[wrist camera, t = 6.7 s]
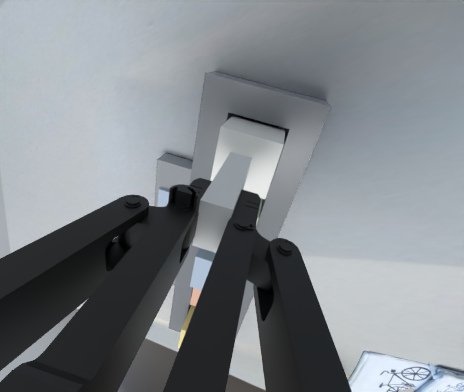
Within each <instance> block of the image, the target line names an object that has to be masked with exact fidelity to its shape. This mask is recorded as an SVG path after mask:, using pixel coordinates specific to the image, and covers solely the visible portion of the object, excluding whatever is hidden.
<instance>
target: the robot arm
mask: <svg viewBox="0 0 464 392" xmlns="http://www.w3.org/2000/svg"><path fill="white" fill-rule="evenodd" d="M251 161H252V158H251V157H247V156H244V155H240V154H237V153H233V152H230V154H229V155H228V157H227V159H226V160H225V162H224V163H223V165H222V167H221V168H220V170H219V171H218V173H217V174H216V176H215V178H214V179H213V181H209V180H206V179H203V178H198V179H195V180H193V181H192V183H191V184H190V186H189V185H184V184H178V185H174V186H172V187H170V190H169V201H168V204H167V205H166V206H165V207H155V206H149V202H148V200H147V199H146V198H144V197H142V196H139V195H127V196H124V197H121V198H119V199H117V200H115V201H113V202H111V203H109V204H107V205H105V206H103V207H101V208H99V209H97V210H95V211H93V212H91V213H89V214H87V215H85V216H83V217H82V218H80V219H78V220H76V221H74V222H72V223H70V224H68V225H66V226H64V227H62V228H60V229H58V230H56V231H54V232H52V233H50V234H48V235H46V236H44V237H42V238H40V239H38V240H36V241H34V242H32V243H30V244H28V245H26V246H24V247H22V248H20V249H18V250H16V251H15V252H13V253H11V254H9V255H7V256H5V257H3V258H1V259H0V371H1V370H2V369H3V368H4V367H6V366H7V365H8V364H9V363H10V362H12V361H13V360H14V359H15V358H16V357H17V356H19V355H20V354H21V353H23V352H24V351H25V350H26V349H27V348H28V347H30V346H31V345H32V344H33V343H35V342H36V341H37V340H38V339H39V338H41V337H42V336H43V335H44V334H45V333H47V332H48V331H49V330H51V329H52V328H53V327H54V326H55V325H56V324H58V323H59V322H60V321H61V320H62V319H64V318H65V317H66V316H67V315H69V314H70V313H71V312H72V311H74V310H75V309H76V308H77V307H78V306H80V305H81V304H82V303H83V302H85V301H86V300H87V299H88V298H89V299H88V300H87V301H86V302H85V303H84V304H83V306H82V307H81V308H80V309H79V310H78V312H77V313H76V314H75V315H74V316H73V318H72V319H71V320H70V321H69V323H68V324H67V325H66V326H65V327H64V328H63V330H62V331H61V332H60V333H59V334H58V336H57V337H56V338H55V339H54V341H53V342H52V343H51V344H50V345H49V346H48V348H47V349H46V350H45V351H44V352H43V353H42V354H41V355H40V356H39V357H38V358H36V359H35V360H33V361H30V362H26V363H22V364H21V365H19V366H18V367H17V368H15V369H14V370H12V371H11V372H10V373H9V374H8V375H7V376H6V377H5V378H4V379H3V380H2V381H1V382H0V392H117V391H118V389H119V387H120V385H121V383H122V381H123V379H124V377H125V376H126V374H127V372H128V370H129V368H130V366H131V364H132V361H133V360H134V358H135V356H136V354H137V352H138V350H139V348H140V346H141V344H142V342H143V341H144V339H145V337H146V335H147V333H148V331H149V329H150V327H151V325H152V323H153V321H154V319H155V317H156V315H157V313H158V311H159V309H160V308H161V306H162V304H163V302H164V300H165V298H166V296H167V294H168V292H169V290H170V288H171V286H172V284H173V282H174V280H175V278H176V276H177V274H178V273H179V271H180V269H181V267H182V265H183V263H184V261H185V259H186V257H187V255H188V253H189V249H190V244H191V242H192V240H193V244H192V246H196V247H199V248H202V249H205V250H208V251H212V252H215V253H216V254H215V257H214V259H213V262H212V265H211V267H210V270H209V273H208V275H207V278H206V280H205V283H204V286H203V288H202V291H201V294H200V296H199V299H198V301H197V304H196V307H195V309H194V312H193V315H192V317H191V320H190V322H189V325H188V328H187V330H186V333H185V336H184V338H183V341H182V343H181V346H180V349H179V351H178V354H177V357H176V359H175V362H174V365H173V367H172V370H171V372H170V375H169V378H168V380H167V383H166V386H165V388H164V391H163V392H225V389H226V384H227V379H228V374H229V369H230V363H231V358H232V353H233V348H234V343H235V338H236V332H237V327H238V322H239V317H240V312H241V307H242V301H243V296H244V291H245V286H246V281H247V280H248V281H249V282H251V283H253V284H254V285H253V290H254V298H255V306H256V314H257V322H258V330H259V338H260V346H261V355H262V363H263V371H264V379H265V387H266V392H352V391H351V388H350V385H349V383H348V380H347V377H346V375H345V372H344V369H343V367H342V364H341V361H340V358H339V356H338V353H337V350H336V348H335V345H334V342H333V340H332V337H331V334H330V332H329V329H328V326H327V323H326V321H325V318H324V315H323V313H322V310H321V307H320V305H319V302H318V299H317V296H316V294H315V291H314V288H313V286H312V283H311V280H310V278H309V275H308V272H307V269H306V267H305V264H304V261H303V259H302V256H301V253H300V251H299V249H298V247H297V246H296V245H295V244H293V243H292V242H290V241H289V240H286V239H283V238H275V239H273V240H272V241H269V240H267V239H265V238H264V237H262V236H261V235H260V234H259V233H258V231H257V229H256V222H257V217H258V212H259V207H260V202H261V199H260V197H259V195H258V194H256V193H252V192H249V191H246V190H243V189H244V186H245V182H246V179H247V175H248V172H249V168H250V164H251ZM117 236H118V237H117ZM116 237H117V238H116ZM114 238H115V239H114Z"/></svg>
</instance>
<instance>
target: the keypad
mask: <svg viewBox="0 0 464 392" xmlns="http://www.w3.org/2000/svg"><path fill="white" fill-rule="evenodd" d="M330 110H331V105H330V104H329V103H328V102H327V101H324V100H320V99H317V98H313V97H309V96H305V95H302V94H298V93H294V92H290V91H286V90H283V89H279V88H275V87H271V86H268V85H264V84H260V83H256V82H252V81H249V80H245V79H241V78H237V77H234V76H230V75H226V74H222V73H219V72H210V73H205V79H204V86H203V93H202V100H201V107H200V114H199V121H198V128H197V135H196V142H195V149H194V156H193V161H191V160H188V159H184V158H181V157H178V156H174V155H171V154H167V153H165V154H164V155H163V156H161V157H160V158H158V159H157V171H156V188H155V205H154V206H155V207H165V206H166V205H167V204H168V201H169V190H170V187H172V186H174V185H178V184H184V185H189V186H190V184H191V183H192V181H193V180H195V179H198V178H203V179H206V180H209V181H210V179H211V174H212V169H213V164H214V159H215V153H216V148H217V143H218V138H219V133H220V127H221V126H222V125H223V124H224V123H225V122H226V121H227V120H228V119H229V118H231V117H232V116H234V114H236V115H240V116H244V117H247V118H251V119H254V120H258V121H262V122H265V123H269V124H272V125H276V126H280V127H283V128H287V132H286V135H285V139H284V146H283V149H282V152H281V155H280V158H279V161H278V163H277V166H276V169H275V172H274V175H273V178H272V181H271V184H270V187H269V190H268V193H267V195H266V198H265V199H264V200H263V203H262V205H261V209H260V214H259V219H258V222H257V225H256V229H257V231H258V233H259V234H260V235H261V236H262V237H264V238H265V239H267V240H269V241H272V240H273V239H275V238H277V237H278V235H279V233H280V230H281V228H282V225H283V223H284V221H285V218H286V216H287V213H288V211H289V208H290V206H291V204H292V201H293V199H294V196H295V194H296V192H297V189H298V187H299V184H300V182H301V180H302V177H303V175H304V172H305V170H306V168H307V165H308V163H309V160H310V158H311V156H312V153H313V151H314V148H315V146H316V143H317V141H318V139H319V136H320V134H321V131H322V129H323V127H324V124H325V122H326V119H327V117H328V115H329V112H330ZM192 244H193V240H192V242H191V244H190V249H189V253H188V255H187V257H186V259H185V261H184V263H183V265H182V267H181V269H180V271H179V273H178V274H177V276H176V278H175V280H174V282H173V284H174V285H175V288H174V295H173V302H172V309H171V316H170V323H169V328H170V329H172V330H175V331H178V332H181V329H182V327H183V325H184V322H185V320H186V317H187V315H188V312H189V310H190V307H191V305H190V302H191V297H192V292H193V287H190V283H191V278H192V272H193V267H194V262H195V257H196V255H197V253H198V251H199V247H196V246H192ZM253 285H254V284H253V283H251V282H249V281H248V280H247V281H246V286H245V291H244V296H243V301H242V307H241V312H240V317H239V322H238V327H237V332H236V336H237V334H238V331H239V329H240V326H241V324H242V322H243V319H244V317H245V314H246V312H247V310H248V307H249V305H250V302H251V300H252V298H253V295H254V290H253Z"/></svg>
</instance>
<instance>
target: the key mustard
mask: <svg viewBox="0 0 464 392" xmlns="http://www.w3.org/2000/svg"><path fill="white" fill-rule="evenodd" d="M195 307H196V306H193V305H191V307H190V310H189V312H188V315H187V317H186V320H185V322H184V325H183V327H182V329H181V335H180V340H179V345H178V348H179V349H180V346H181V343H182V341H183V338H184V336H185V333H186V330H187V328H188V325H189V322H190V320H191V317H192V315H193V312H194V309H195Z"/></svg>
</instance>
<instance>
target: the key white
mask: <svg viewBox="0 0 464 392" xmlns="http://www.w3.org/2000/svg"><path fill="white" fill-rule="evenodd" d="M284 139H285V130H282V129H278V128H275V127H271V126H267V125H264V124H260V123H257V122H253V121H249V120H246V119H242V118H239V117H235V116H232V117H231V118H229V119H228V120H227V121H226V122H225V123H224V124H223V125H222V126H221V127H220V133H219V138H218V143H217V148H216V153H215V159H214V164H213V169H212V174H211V179H210V181H213V179H214V178H215V176H216V174H217V173H218V171H219V170H220V168H221V167H222V165H223V163H224V162H225V160H226V159H227V157H228V155H229V154H230V152H233V153H237V154H240V155H244V156H247V157H251V158H252V161H251V164H250V168H249V172H248V175H247V179H246V182H245V186H244V189H243V190H246V191H249V192H252V193H256V194H258V195H259V197H260V198H262V199H265V198H266V195H267V193H268V190H269V187H270V184H271V181H272V178H273V175H274V172H275V169H276V166H277V163H278V161H279V158H280V155H281V152H282V149H283V146H284Z"/></svg>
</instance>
